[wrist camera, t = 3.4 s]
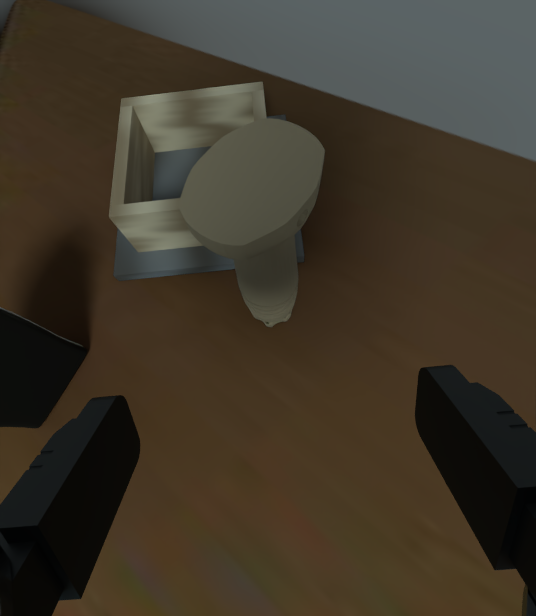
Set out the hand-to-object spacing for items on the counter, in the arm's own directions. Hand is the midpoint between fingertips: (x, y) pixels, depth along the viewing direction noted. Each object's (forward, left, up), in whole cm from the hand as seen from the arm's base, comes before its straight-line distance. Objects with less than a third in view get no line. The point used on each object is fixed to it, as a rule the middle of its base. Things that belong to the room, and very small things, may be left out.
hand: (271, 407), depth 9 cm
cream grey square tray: (+5, -21, -16) cm, 27 cm away
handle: (0, -9, -16) cm, 18 cm away
